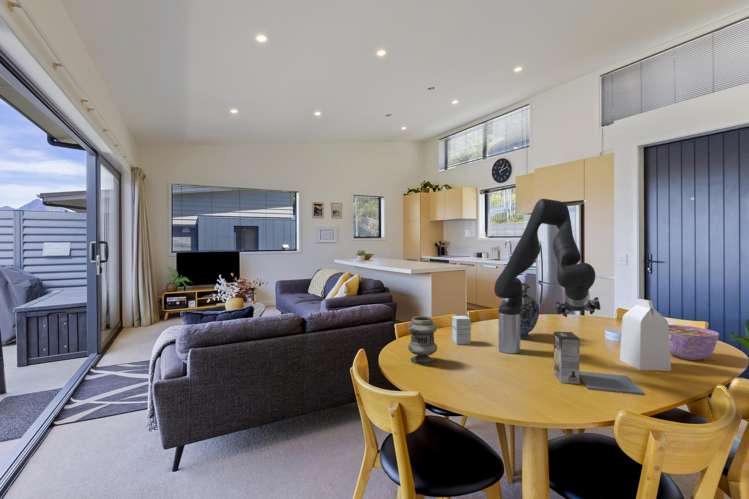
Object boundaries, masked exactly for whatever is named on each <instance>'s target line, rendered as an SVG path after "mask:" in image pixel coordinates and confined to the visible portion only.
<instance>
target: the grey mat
mask: <svg viewBox="0 0 749 499" xmlns="http://www.w3.org/2000/svg"><path fill="white" fill-rule="evenodd" d="M579 379H580V380H581V381H582V383H583V384H584V386H585V387H586V389H587V390H594V391H604V392H613V393H620V392H622V393H621V394H630V393H632V394H631V395H641V396H642V395H643V396H645V392H644V391H643V390H642V389H641V388H640V387H639V386H638V385H637V384H636V383H635V382H634V381H633V380H632V379H631V378H630V377H629V376H628V375H624V374H614V373H613V374H611V373H602V372H601V373H600V372H591V371H581V370H579Z"/></svg>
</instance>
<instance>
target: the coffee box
mask: <svg viewBox="0 0 749 499" xmlns="http://www.w3.org/2000/svg"><path fill="white" fill-rule="evenodd" d="M580 342H581V341H580V338H579V337H578V336H577V335H576V334H575V333H574V332H572V331H553V374H554V376H555V377H556V378H557V380H558V381H559V382H560V383H561V384H574V385H576V384H577V385H580V376H579V371H580V356H581V354H580V346H581V345H580Z"/></svg>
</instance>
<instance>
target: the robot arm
mask: <svg viewBox="0 0 749 499" xmlns="http://www.w3.org/2000/svg"><path fill="white" fill-rule="evenodd" d="M541 225H549V226H555V227H556V228H557V229H558V232H557V233H556V235H555V236H554V238H553V241H552V248H553V251H554V254H555V258H556V261H557V270H556V278H557V279H556V280H557V282H558V285H560V286H561V287H562V288H564V301H565V302H564V303H560V302H559V301H556V302H555V309H556V314H557V315H561V314H562V316H563V317H565V318H568V314H571V313H573V312H575V311H576V312H582V311H587V312H589V313H590V315H593V314H594V313H595V311H596V310H597V311H600V310H601V304H600V300H599V297H594V298H593V299H591V294H590V289H591V288H592V286H593V285H594V283H595V280H596V271H595V268H594V267H593V266H592V265H591V264H590V263H588V262H580V261H581V259H582V258H581V257H582V254H581V253H580V251H579V250H580V249H579V248H578V245H577V243H576V241H575V238H574V234H573V226H572V221H571V216H570V211H569V207H568V205H567V204H566V203H565V202H564V201H560V200H555V199H548V198H540V199H539V200H537V202H536V203H535V205H534V207H533V208H532V211H531V214H530V216H529V218H528V221H527V224H526V227H525V228H524V231H523V233H522V235H521V237H520V239H519V240H518V242H517V243H516V246H515V248H514V250H513V252H512V254H511V256H510V258H509V260H508V262H507V263H506V266H504V269H503V270H502V272H501V273H500V274H499V276H498V278H497V279H496V281H495V283H494V289H493V291H494V294H495V296H496V297H497V298H500V299H504V298H508V301H507V302H506V303H504V304H503V305H501V304H500V305H499V306H498V352H501V353H505V354H519V353H521V340H520V310H521V307H522V283H523V282H522V280H520V278H518V277H519V276H520V275H522V274H523V273H524V272H525V271H527V270H528V269H530V268H532V266H533V265H534V263H535V262H536V260H537V259H538V257H539V255H540V253H541V245H540V244H541V243H540V239H539V237H538V236H539V234H538V232H539V228H540V226H541Z"/></svg>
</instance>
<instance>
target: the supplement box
mask: <svg viewBox="0 0 749 499" xmlns="http://www.w3.org/2000/svg"><path fill="white" fill-rule="evenodd" d="M471 319H472V318H470V317H468V316H467V315H452V316H451V340H452V341H453V342H454V343H455V344H456V345H457V346H458V345H459V346H461V345H471V344H472V340H471V339H472V333H471V332H472V329H471V328H472V325H471V324H472V323H471V322H472V320H471Z"/></svg>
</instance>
